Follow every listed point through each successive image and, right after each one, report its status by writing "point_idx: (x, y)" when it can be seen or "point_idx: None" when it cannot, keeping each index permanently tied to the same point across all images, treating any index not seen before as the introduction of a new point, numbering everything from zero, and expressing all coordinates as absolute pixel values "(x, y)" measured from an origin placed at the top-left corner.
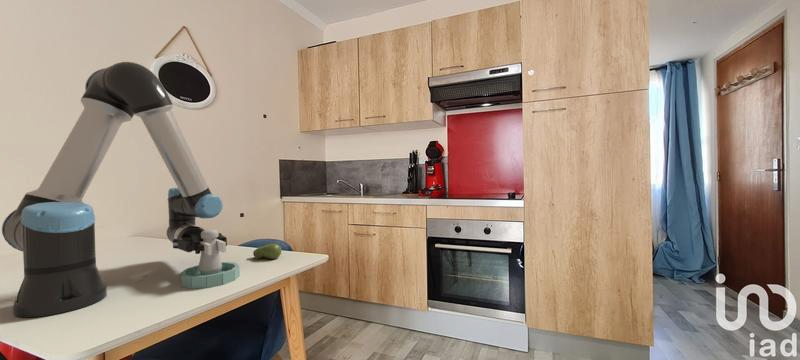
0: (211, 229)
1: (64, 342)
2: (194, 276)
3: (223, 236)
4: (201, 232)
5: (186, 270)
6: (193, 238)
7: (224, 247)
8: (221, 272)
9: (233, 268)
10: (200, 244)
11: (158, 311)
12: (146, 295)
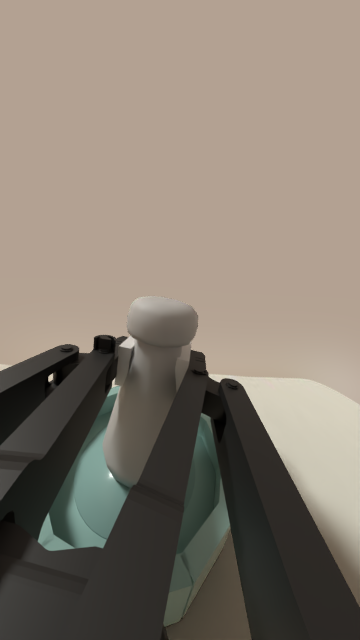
0: (157, 298)
1: (343, 402)
2: (207, 416)
3: (10, 370)
4: (196, 316)
5: (211, 520)
6: (169, 498)
7: None
8: (98, 461)
9: (113, 392)
10: (191, 365)
11: (262, 395)
12: (317, 503)
